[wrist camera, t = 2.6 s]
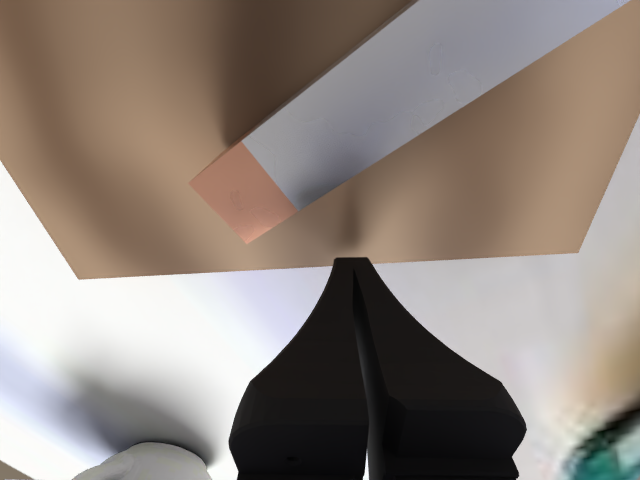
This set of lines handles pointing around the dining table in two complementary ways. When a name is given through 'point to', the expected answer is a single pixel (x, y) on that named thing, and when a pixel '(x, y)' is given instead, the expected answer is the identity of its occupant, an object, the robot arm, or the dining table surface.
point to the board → (262, 99)
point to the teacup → (149, 465)
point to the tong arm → (382, 100)
